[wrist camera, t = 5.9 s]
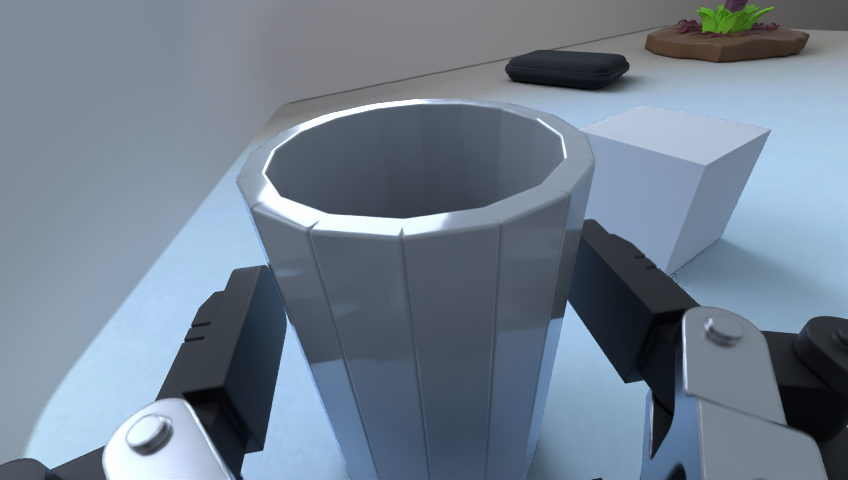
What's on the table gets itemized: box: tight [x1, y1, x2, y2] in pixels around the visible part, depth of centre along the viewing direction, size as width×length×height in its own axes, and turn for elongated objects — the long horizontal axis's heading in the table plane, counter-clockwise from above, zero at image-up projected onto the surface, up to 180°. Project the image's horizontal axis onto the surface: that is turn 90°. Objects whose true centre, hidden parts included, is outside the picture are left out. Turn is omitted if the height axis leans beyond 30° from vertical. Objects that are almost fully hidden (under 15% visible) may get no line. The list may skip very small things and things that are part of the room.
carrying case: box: [505, 50, 629, 89], centre depth 52 cm, size 11×3×15 cm
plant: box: [645, 0, 810, 62], centre depth 59 cm, size 20×20×11 cm
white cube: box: [578, 105, 771, 276], centre depth 20 cm, size 6×6×6 cm
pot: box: [236, 99, 596, 480], centre depth 10 cm, size 6×6×10 cm
